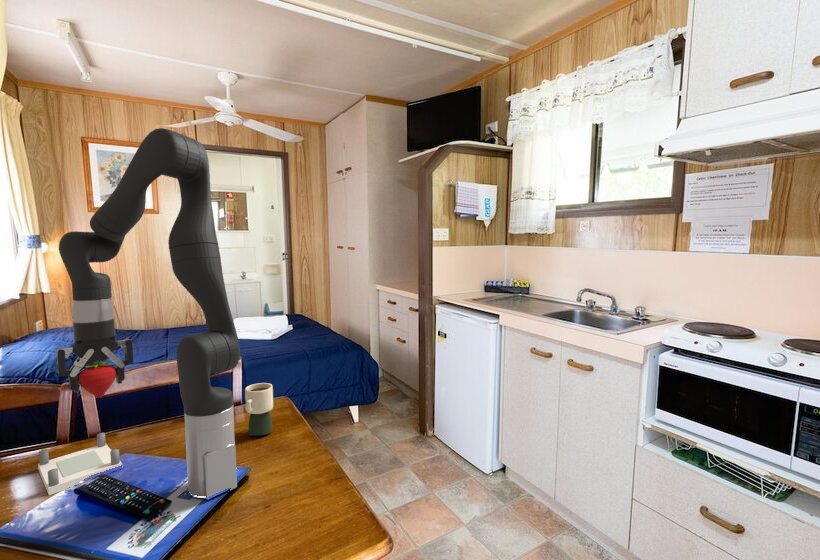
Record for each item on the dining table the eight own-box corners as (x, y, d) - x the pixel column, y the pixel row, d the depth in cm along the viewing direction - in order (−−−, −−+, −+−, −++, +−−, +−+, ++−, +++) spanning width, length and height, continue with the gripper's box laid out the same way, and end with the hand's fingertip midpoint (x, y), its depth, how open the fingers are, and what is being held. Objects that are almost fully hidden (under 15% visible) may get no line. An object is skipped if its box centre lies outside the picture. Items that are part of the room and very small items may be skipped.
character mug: (259, 423, 114) (258, 379, 113) (282, 425, 113) (281, 381, 112) (236, 441, 103) (234, 393, 102) (261, 444, 102) (259, 395, 101)
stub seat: (122, 469, 91) (121, 450, 90) (48, 495, 81) (47, 474, 81) (105, 448, 100) (104, 431, 100) (38, 469, 91) (36, 451, 90)
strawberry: (73, 400, 91) (70, 358, 90) (110, 390, 98) (107, 350, 97) (87, 405, 88) (84, 361, 88) (123, 394, 95) (121, 353, 94)
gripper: (55, 324, 84) (60, 399, 85) (135, 316, 94) (138, 383, 96) (50, 320, 89) (55, 391, 90) (126, 312, 99) (130, 376, 101)
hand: (98, 387), depth 93 cm, fingers closed on strawberry, 7 cm apart
